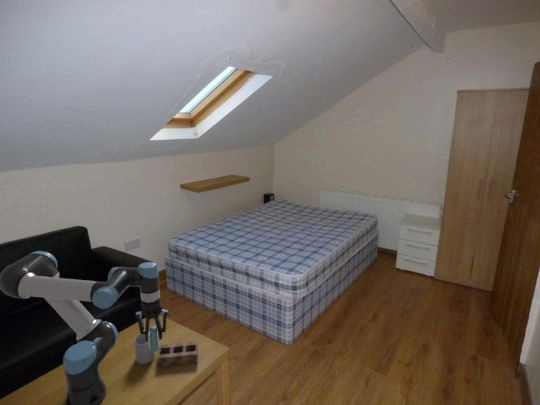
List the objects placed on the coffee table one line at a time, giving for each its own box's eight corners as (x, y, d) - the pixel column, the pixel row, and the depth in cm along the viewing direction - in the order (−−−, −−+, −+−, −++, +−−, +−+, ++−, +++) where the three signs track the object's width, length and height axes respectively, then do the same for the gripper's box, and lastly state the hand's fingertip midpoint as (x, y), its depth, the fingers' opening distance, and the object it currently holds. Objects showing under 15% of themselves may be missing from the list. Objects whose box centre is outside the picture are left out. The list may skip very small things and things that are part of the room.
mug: (154, 362, 160) (152, 343, 157) (135, 365, 158) (133, 345, 155) (155, 345, 171) (154, 327, 168) (137, 348, 169) (135, 329, 166)
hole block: (158, 367, 157) (157, 358, 156) (160, 353, 166) (159, 345, 164) (197, 362, 161) (197, 354, 159) (197, 349, 169) (197, 341, 168)
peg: (150, 352, 146) (148, 330, 143) (152, 347, 149) (150, 326, 146) (158, 351, 147) (156, 330, 144) (159, 347, 150) (157, 325, 147)
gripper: (128, 304, 136) (133, 353, 142) (169, 301, 139) (172, 349, 145) (132, 295, 143) (137, 341, 149) (171, 292, 146) (174, 338, 152)
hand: (154, 345), depth 147 cm, fingers closed on peg, 3 cm apart
